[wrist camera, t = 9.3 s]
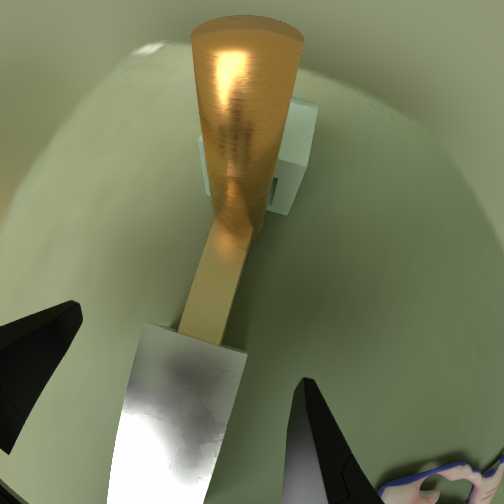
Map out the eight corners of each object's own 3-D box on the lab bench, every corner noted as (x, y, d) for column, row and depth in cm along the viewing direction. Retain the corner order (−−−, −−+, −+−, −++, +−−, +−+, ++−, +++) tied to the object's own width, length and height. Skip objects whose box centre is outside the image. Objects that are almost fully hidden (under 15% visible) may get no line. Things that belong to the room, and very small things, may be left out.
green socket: (287, 215, 19) (307, 166, 14) (206, 194, 19) (197, 140, 14) (301, 157, 21) (318, 103, 15) (229, 139, 21) (229, 83, 16)
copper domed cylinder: (205, 428, 14) (145, 587, 1) (158, 412, 14) (19, 518, 1) (282, 155, 20) (320, -5, 7) (243, 146, 20) (254, -17, 8)
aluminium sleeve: (198, 503, 12) (189, 540, 8) (131, 480, 12) (106, 509, 8) (244, 350, 16) (247, 354, 12) (168, 326, 16) (145, 321, 12)
